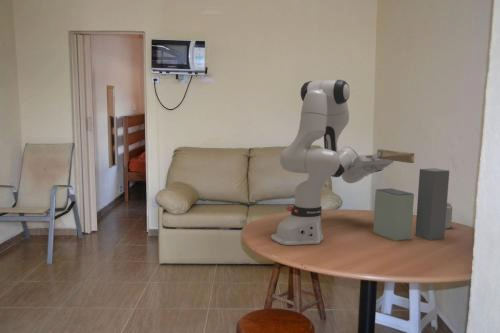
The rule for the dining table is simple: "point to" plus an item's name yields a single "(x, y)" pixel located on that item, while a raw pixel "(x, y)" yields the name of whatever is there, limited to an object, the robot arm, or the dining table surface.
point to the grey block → (393, 214)
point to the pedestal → (432, 203)
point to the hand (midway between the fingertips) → (384, 153)
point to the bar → (396, 156)
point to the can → (448, 216)
